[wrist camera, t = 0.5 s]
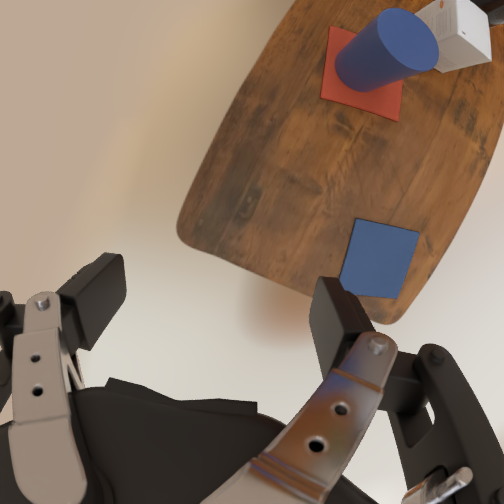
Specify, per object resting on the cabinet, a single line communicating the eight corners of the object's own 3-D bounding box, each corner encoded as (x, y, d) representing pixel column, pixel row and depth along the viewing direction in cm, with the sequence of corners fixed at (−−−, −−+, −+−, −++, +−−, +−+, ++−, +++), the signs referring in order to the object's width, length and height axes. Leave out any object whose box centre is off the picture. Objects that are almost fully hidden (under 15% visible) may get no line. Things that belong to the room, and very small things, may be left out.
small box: (441, 74, 24) (492, 63, 14) (409, 55, 23) (457, 34, 14) (444, 32, 21) (489, 15, 11) (412, 13, 21) (454, -13, 11)
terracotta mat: (329, 26, 23) (330, 25, 22) (403, 53, 23) (404, 52, 23) (319, 97, 26) (320, 97, 26) (396, 121, 27) (398, 121, 27)
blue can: (337, 40, 23) (377, -3, 12) (383, 56, 24) (438, 27, 12) (331, 83, 25) (375, 53, 14) (379, 98, 26) (438, 82, 15)
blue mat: (355, 218, 32) (356, 218, 31) (418, 232, 32) (419, 233, 32) (334, 290, 35) (335, 292, 35) (395, 297, 36) (397, 298, 35)
